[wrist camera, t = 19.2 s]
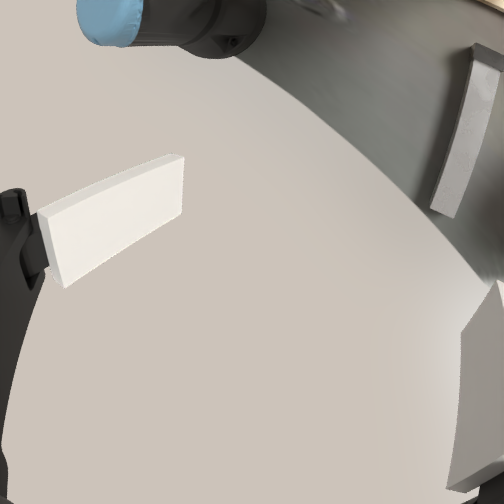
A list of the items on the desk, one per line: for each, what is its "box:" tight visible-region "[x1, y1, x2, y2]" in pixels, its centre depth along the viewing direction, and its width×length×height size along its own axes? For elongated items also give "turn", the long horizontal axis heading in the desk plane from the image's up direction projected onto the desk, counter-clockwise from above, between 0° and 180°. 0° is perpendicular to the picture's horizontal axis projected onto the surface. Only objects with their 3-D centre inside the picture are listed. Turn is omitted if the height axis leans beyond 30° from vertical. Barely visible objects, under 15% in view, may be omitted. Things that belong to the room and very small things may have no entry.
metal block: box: [430, 43, 504, 219], centre depth 30 cm, size 22×4×4 cm, turn 170°
